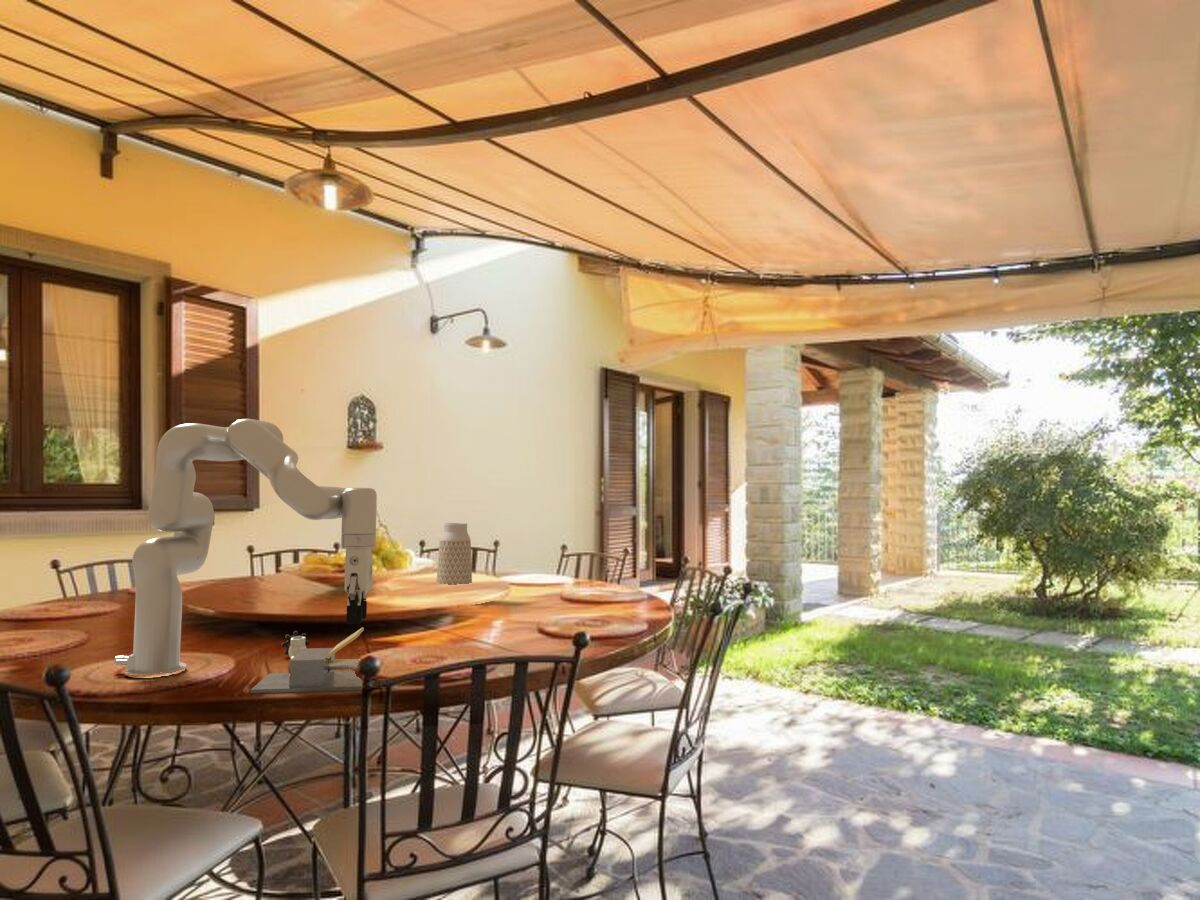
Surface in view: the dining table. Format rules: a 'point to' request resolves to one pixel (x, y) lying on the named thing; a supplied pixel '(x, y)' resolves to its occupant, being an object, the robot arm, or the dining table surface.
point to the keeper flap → (344, 643)
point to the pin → (337, 664)
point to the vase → (454, 555)
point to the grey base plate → (309, 675)
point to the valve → (295, 643)
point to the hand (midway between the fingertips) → (356, 620)
